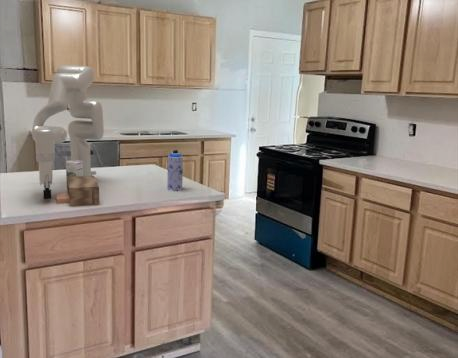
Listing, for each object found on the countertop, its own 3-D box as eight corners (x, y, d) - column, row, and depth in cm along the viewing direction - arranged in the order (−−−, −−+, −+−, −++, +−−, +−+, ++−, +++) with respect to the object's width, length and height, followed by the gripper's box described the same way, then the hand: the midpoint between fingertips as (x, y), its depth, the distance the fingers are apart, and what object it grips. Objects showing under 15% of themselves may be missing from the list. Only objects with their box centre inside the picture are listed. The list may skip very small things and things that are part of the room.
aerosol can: (179, 191, 220) (180, 151, 216) (164, 190, 222) (165, 150, 217) (184, 188, 228) (185, 149, 223) (170, 186, 229) (170, 148, 225)
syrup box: (84, 189, 216) (83, 160, 213) (76, 192, 210) (75, 162, 207) (74, 188, 218) (73, 159, 214) (66, 191, 212) (65, 161, 209)
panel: (57, 204, 191) (56, 199, 191) (56, 198, 200) (56, 193, 200) (90, 202, 196) (90, 197, 196) (88, 197, 205) (88, 192, 205)
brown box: (70, 206, 188) (69, 188, 186) (67, 193, 208) (67, 176, 206) (99, 204, 193) (98, 186, 191) (94, 192, 212) (93, 175, 211)
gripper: (36, 154, 196) (38, 194, 200) (36, 160, 182) (38, 203, 186) (54, 154, 199) (56, 193, 203) (55, 160, 185) (57, 202, 189)
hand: (47, 198), depth 194 cm, fingers closed
